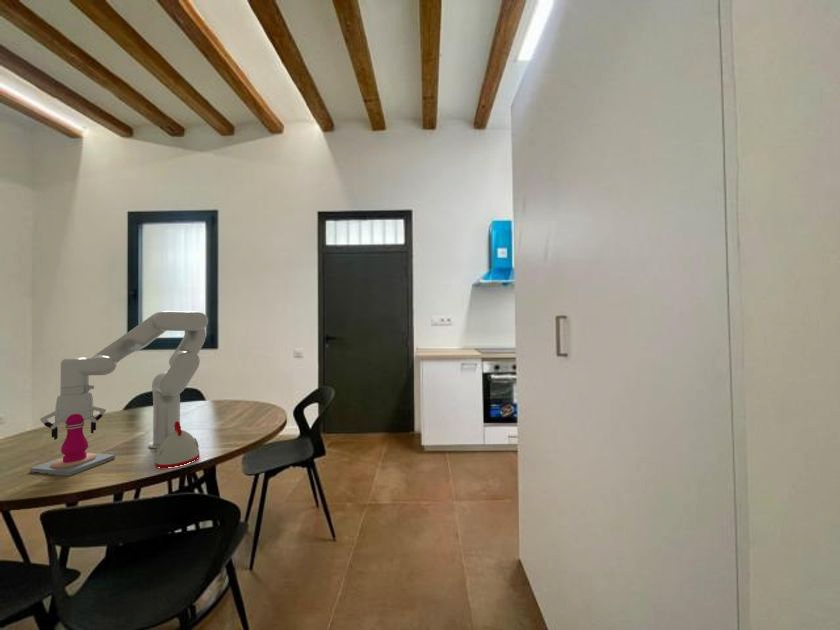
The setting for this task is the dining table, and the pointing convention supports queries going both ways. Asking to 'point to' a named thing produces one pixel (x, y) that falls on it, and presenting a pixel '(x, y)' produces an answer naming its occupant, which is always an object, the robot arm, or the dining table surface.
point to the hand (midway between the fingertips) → (74, 435)
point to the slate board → (72, 464)
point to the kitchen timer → (177, 449)
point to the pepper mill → (74, 440)
